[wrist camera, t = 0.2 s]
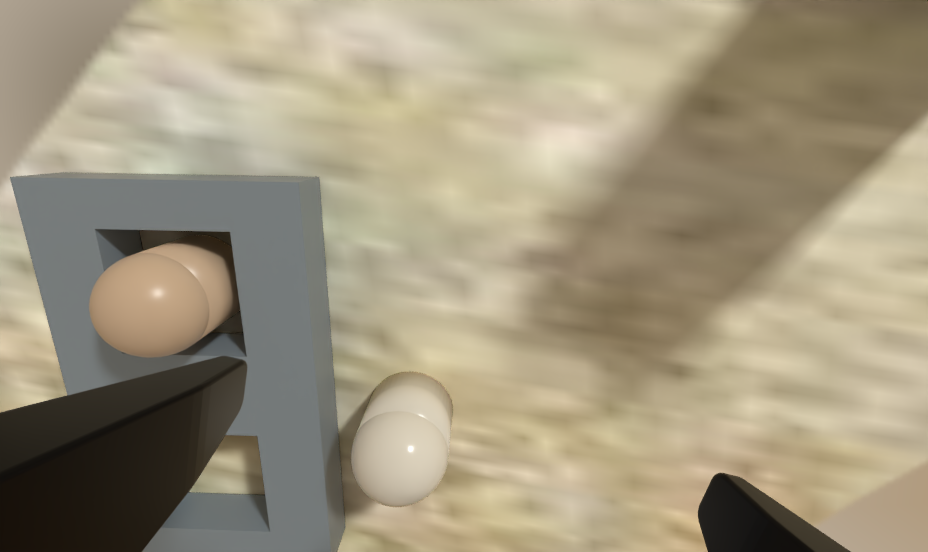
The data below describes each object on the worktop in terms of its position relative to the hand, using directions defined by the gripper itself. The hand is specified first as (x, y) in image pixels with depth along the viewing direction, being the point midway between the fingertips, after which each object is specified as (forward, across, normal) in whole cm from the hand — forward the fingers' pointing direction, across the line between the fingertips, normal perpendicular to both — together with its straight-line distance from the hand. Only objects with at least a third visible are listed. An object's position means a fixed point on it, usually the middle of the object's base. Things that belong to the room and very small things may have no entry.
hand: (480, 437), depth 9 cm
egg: (+14, +1, +9) cm, 17 cm away
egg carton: (+14, +12, +9) cm, 20 cm away
